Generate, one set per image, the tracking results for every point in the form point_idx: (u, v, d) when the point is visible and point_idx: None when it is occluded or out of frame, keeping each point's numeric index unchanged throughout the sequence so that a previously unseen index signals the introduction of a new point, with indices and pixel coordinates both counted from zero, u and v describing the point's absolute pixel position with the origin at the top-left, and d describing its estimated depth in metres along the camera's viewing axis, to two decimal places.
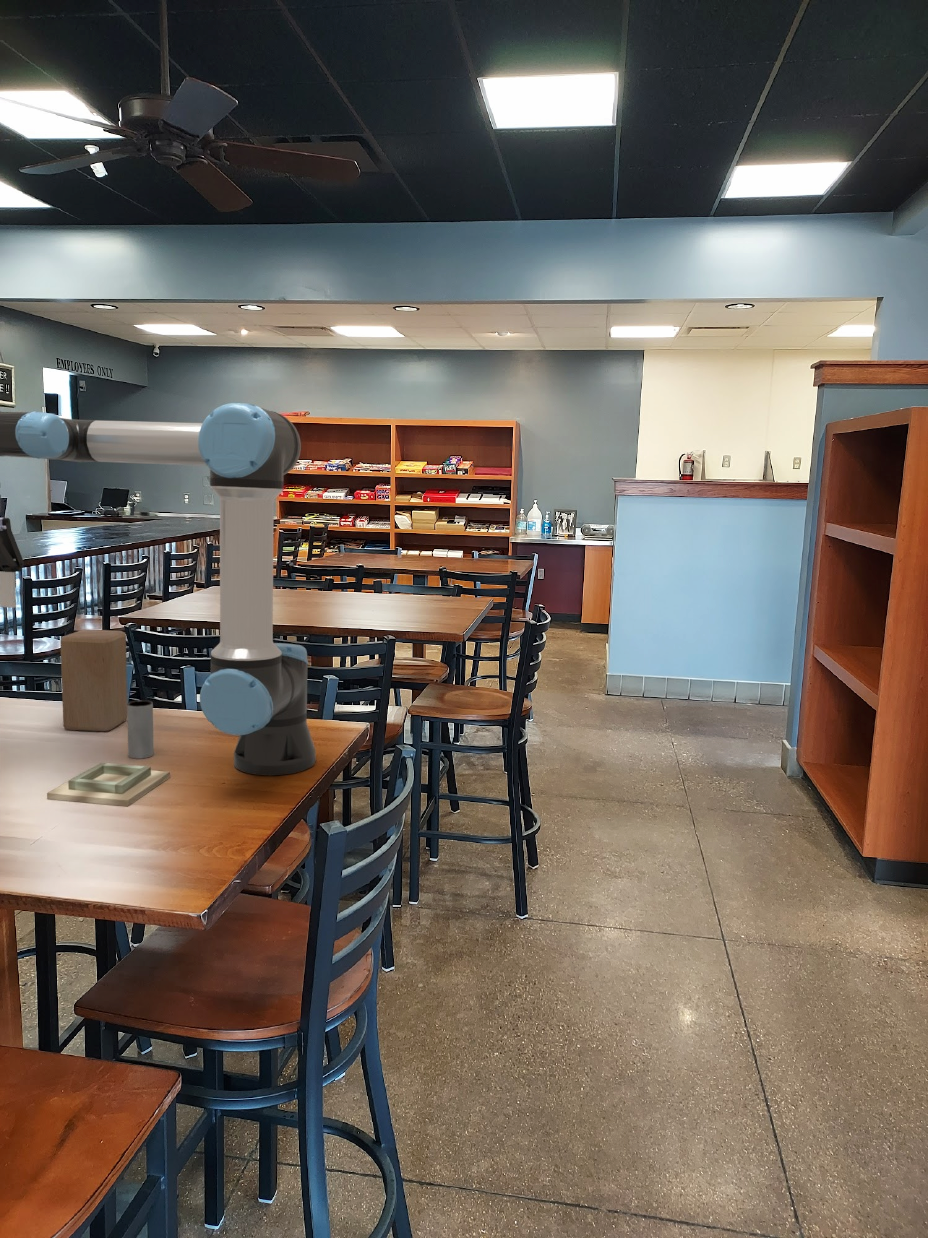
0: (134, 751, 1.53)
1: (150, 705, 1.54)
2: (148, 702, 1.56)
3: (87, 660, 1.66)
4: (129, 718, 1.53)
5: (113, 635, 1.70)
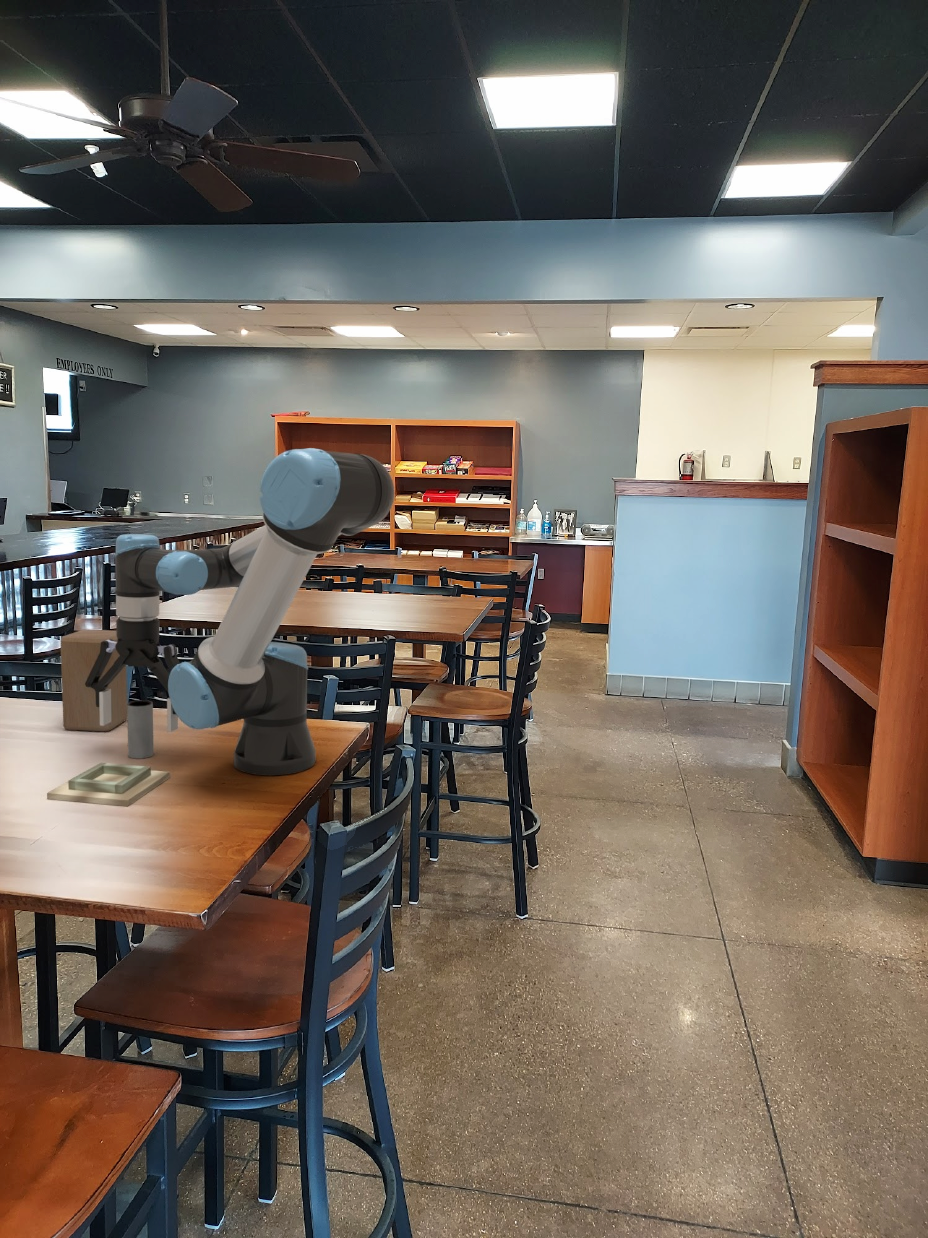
0: (134, 751, 1.53)
1: (150, 705, 1.54)
2: (148, 702, 1.56)
3: (87, 660, 1.66)
4: (129, 718, 1.53)
5: (113, 635, 1.70)
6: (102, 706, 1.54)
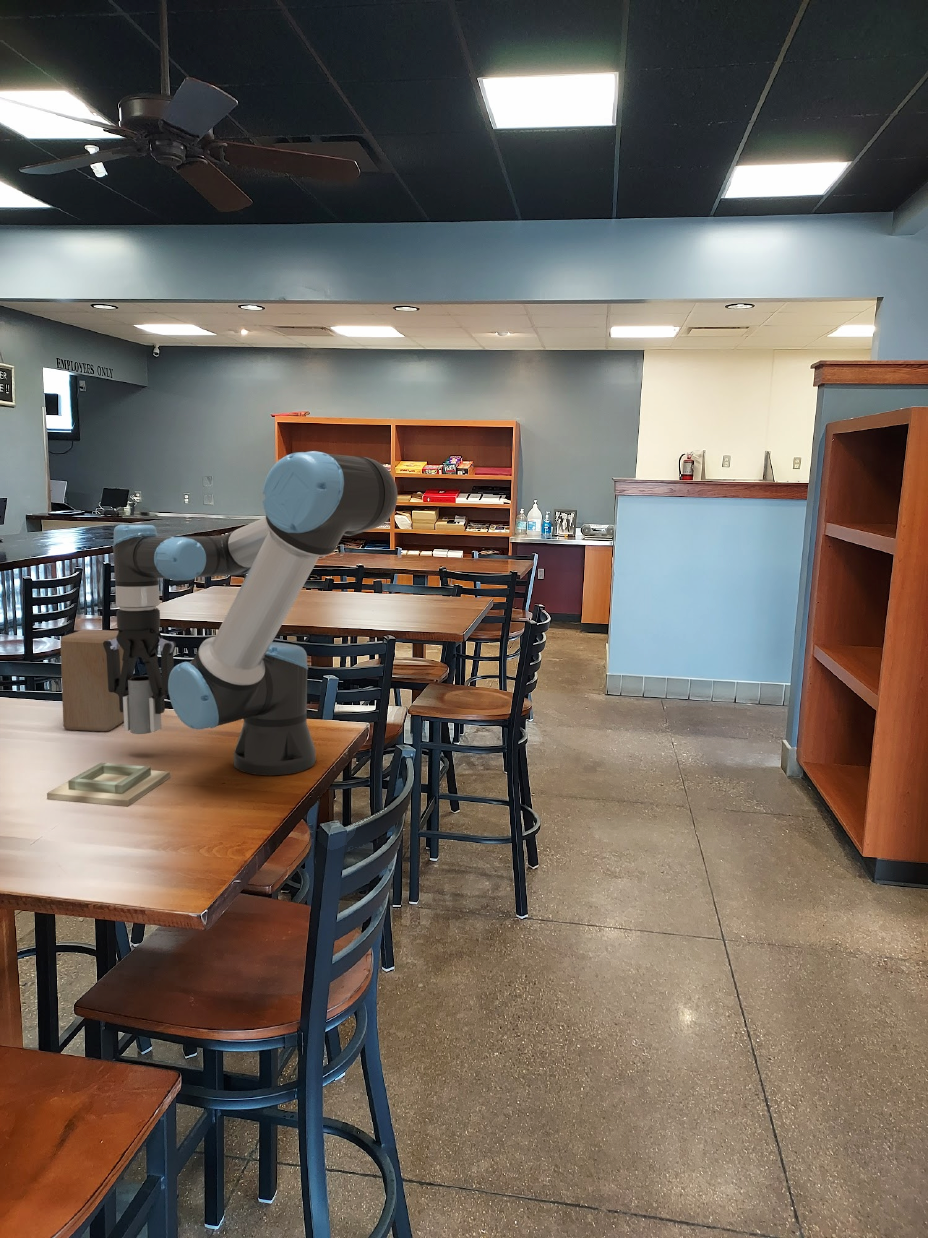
0: (136, 726, 1.52)
1: None
2: None
3: (87, 660, 1.66)
4: (130, 693, 1.52)
5: (113, 635, 1.70)
6: (126, 711, 1.53)
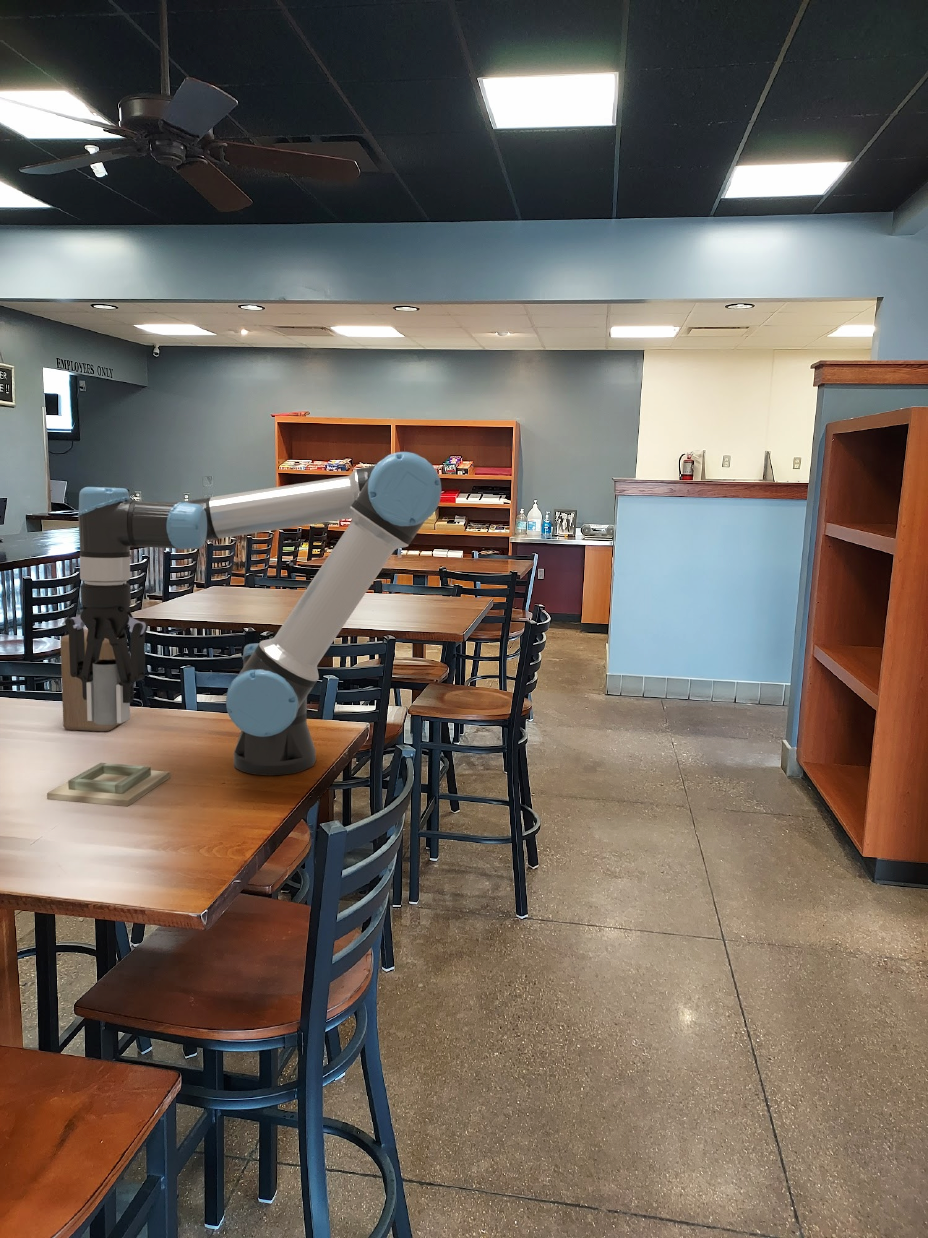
0: (100, 716, 1.34)
1: None
2: None
3: None
4: (95, 678, 1.34)
5: None
6: (90, 698, 1.35)
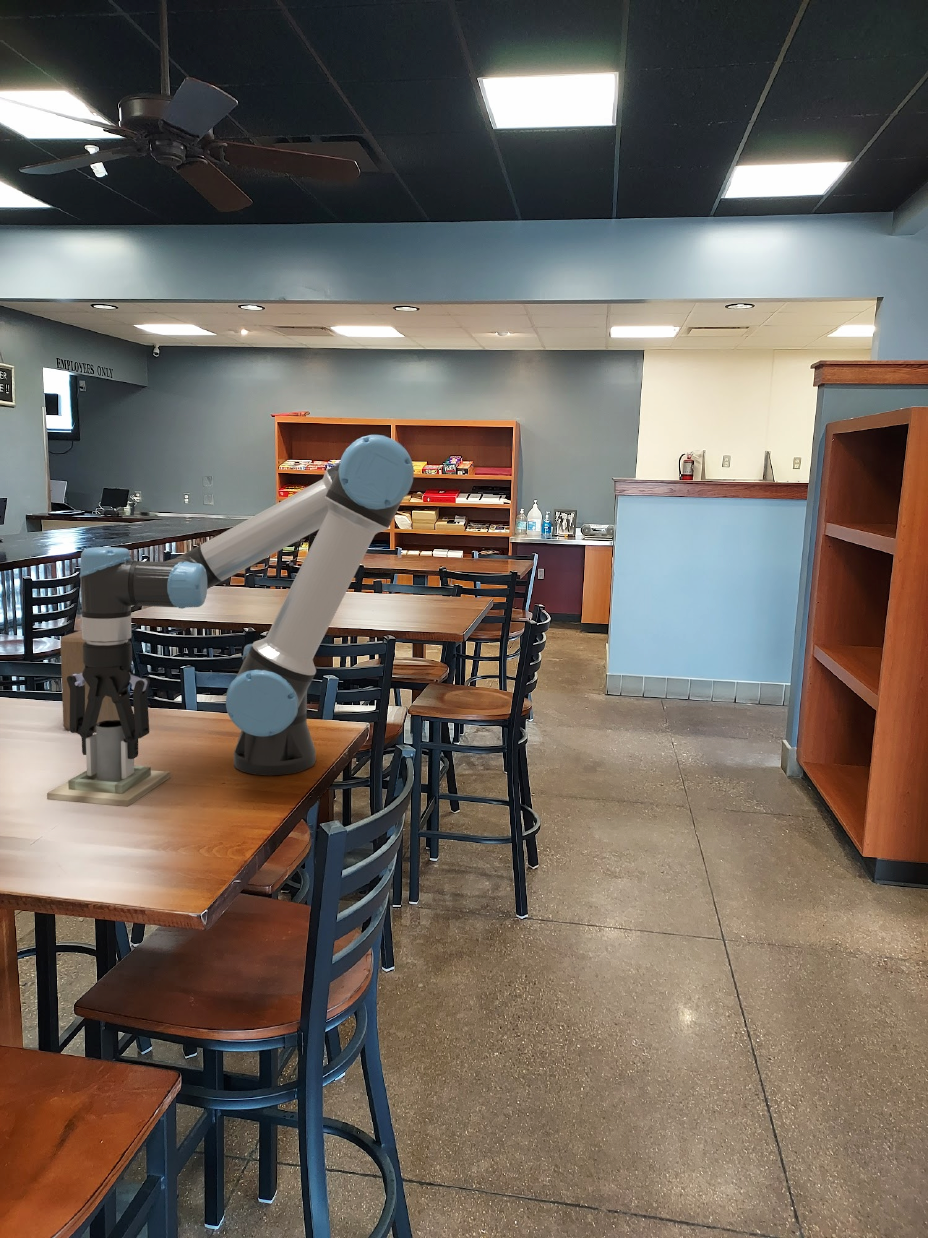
0: (103, 778, 1.36)
1: None
2: (120, 722, 1.38)
3: None
4: (98, 740, 1.35)
5: None
6: (89, 754, 1.37)
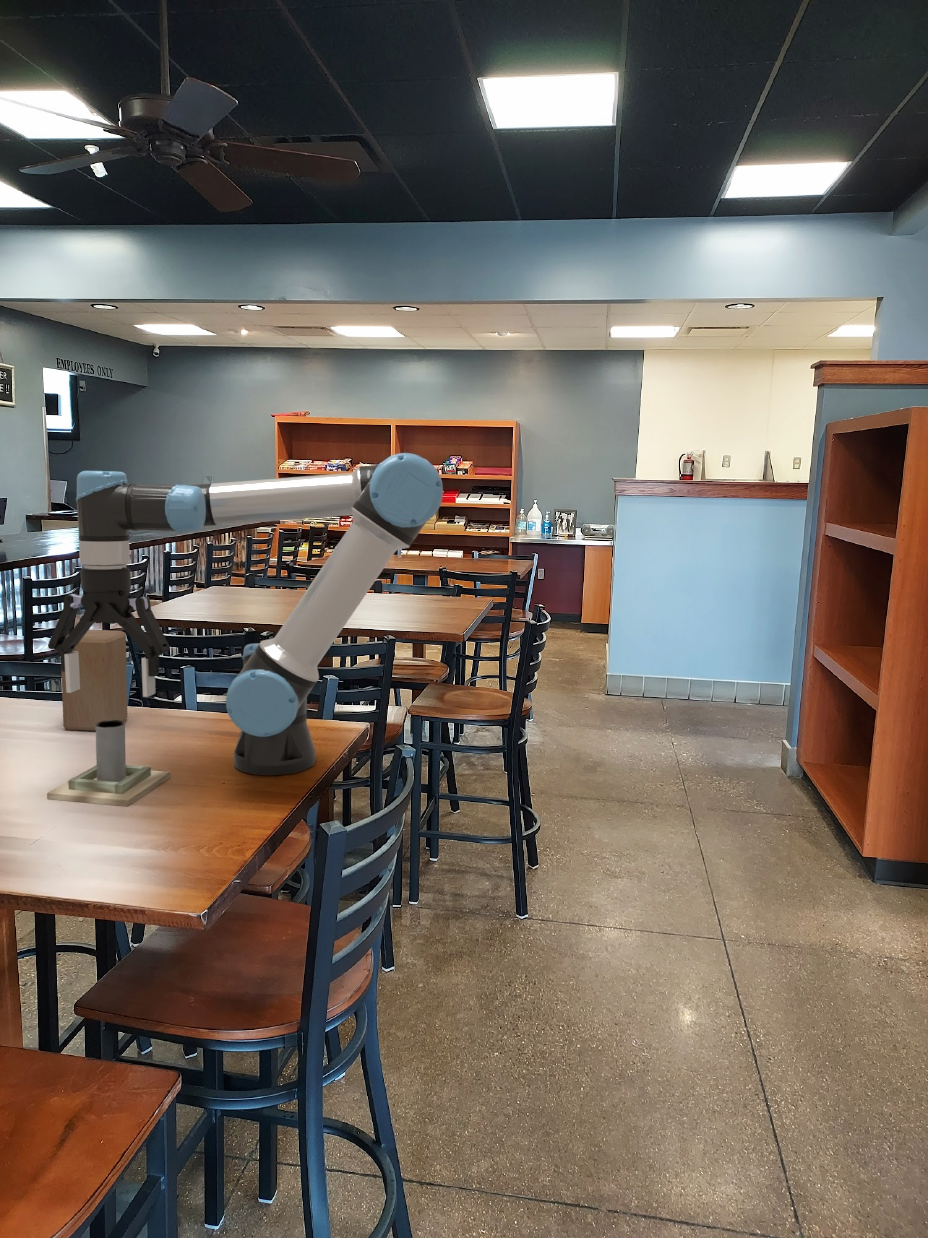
0: (103, 778, 1.36)
1: (122, 726, 1.36)
2: (120, 722, 1.38)
3: (87, 660, 1.66)
4: (98, 741, 1.35)
5: (113, 635, 1.70)
6: (68, 670, 1.35)
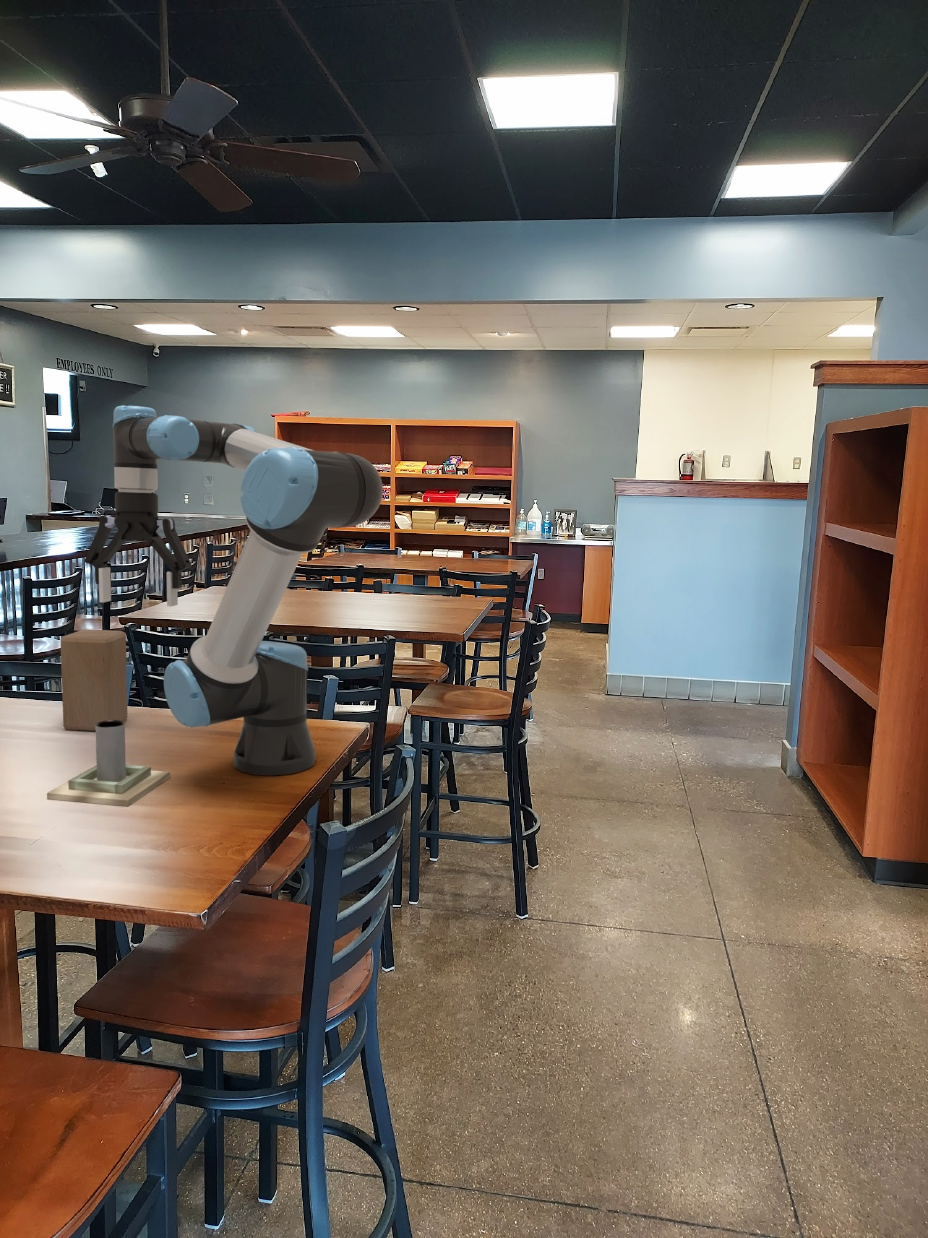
0: (103, 778, 1.36)
1: (121, 726, 1.36)
2: (120, 722, 1.38)
3: (87, 660, 1.66)
4: (97, 741, 1.35)
5: (113, 635, 1.70)
6: (102, 582, 1.54)
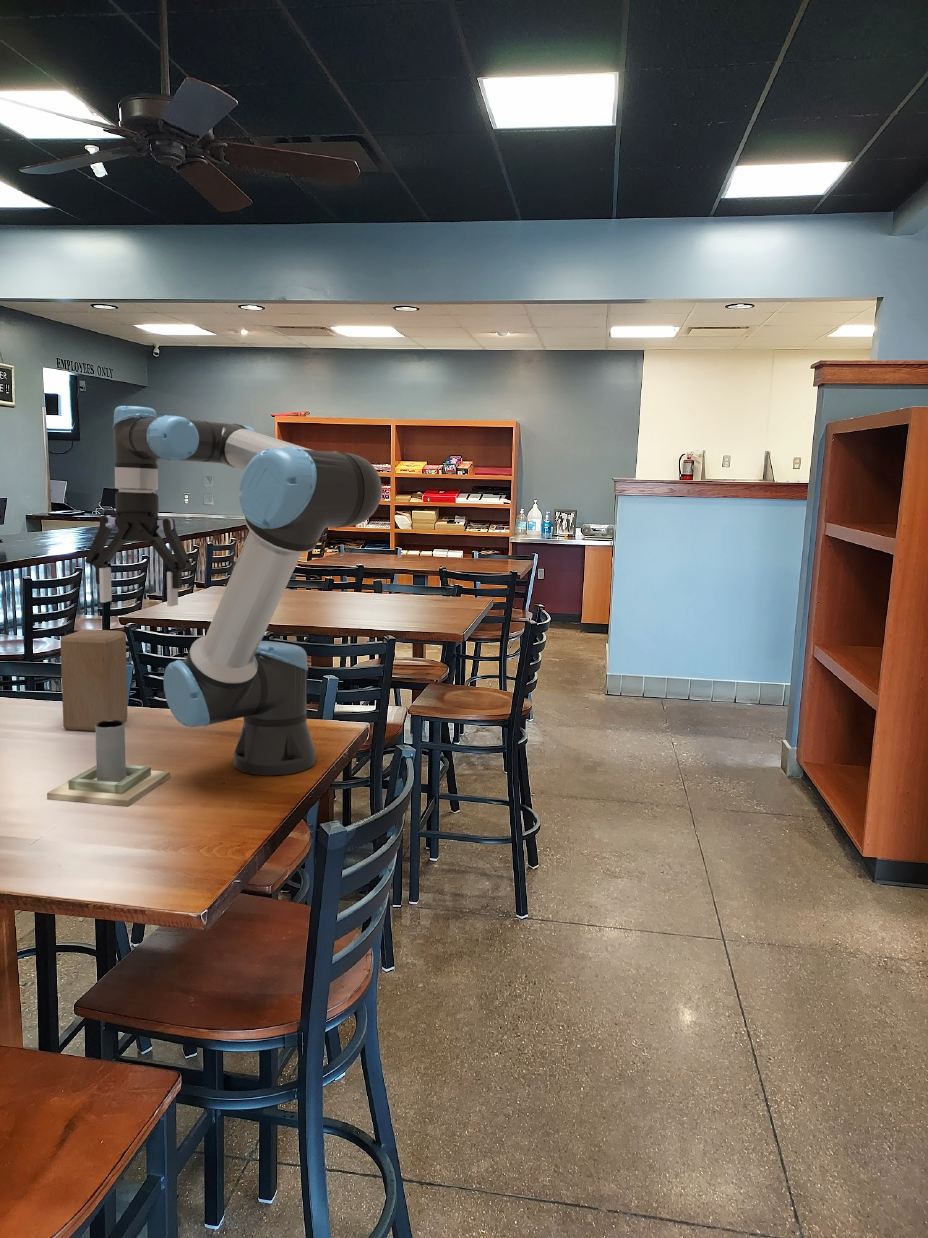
0: (103, 778, 1.36)
1: (121, 726, 1.36)
2: (119, 722, 1.38)
3: (87, 660, 1.66)
4: (97, 741, 1.35)
5: (113, 635, 1.70)
6: (102, 582, 1.54)
